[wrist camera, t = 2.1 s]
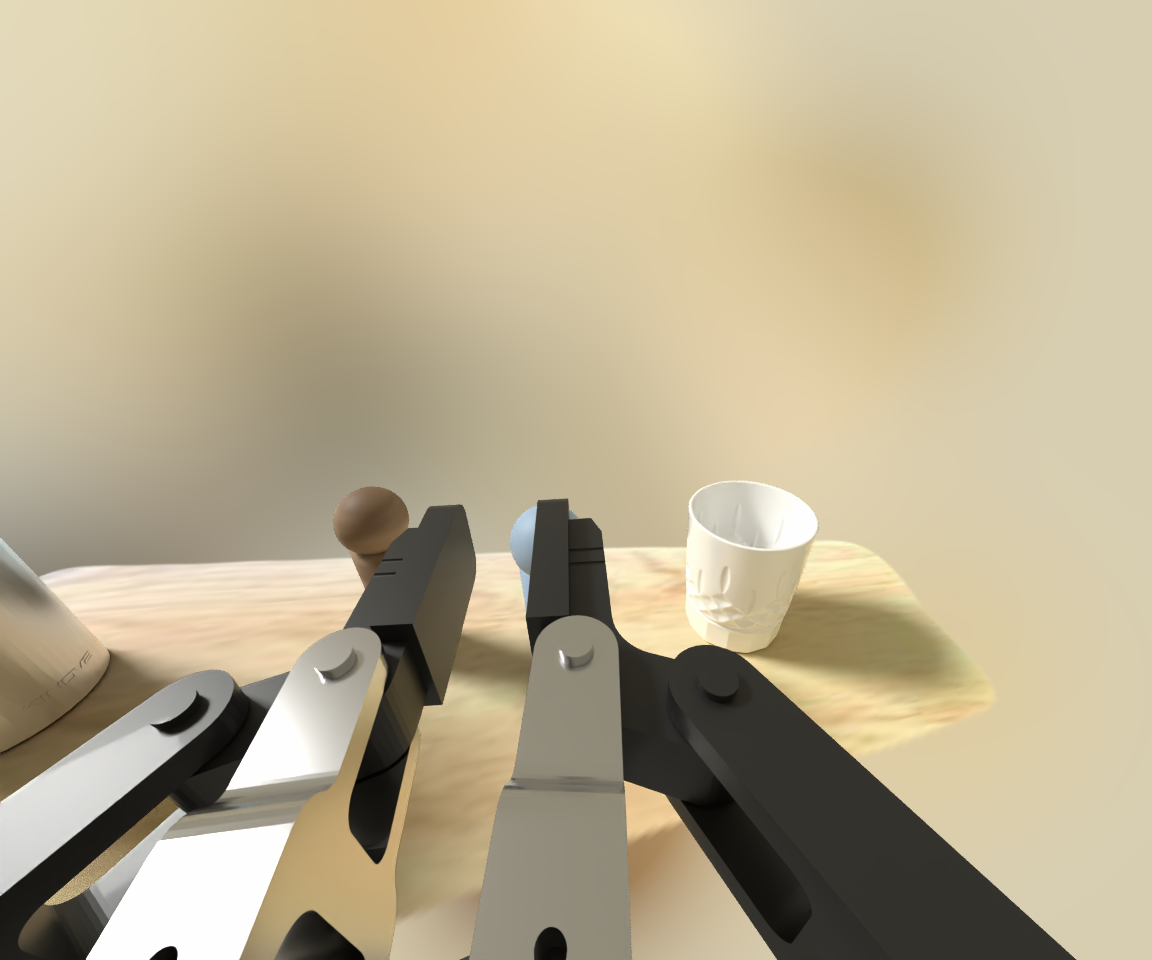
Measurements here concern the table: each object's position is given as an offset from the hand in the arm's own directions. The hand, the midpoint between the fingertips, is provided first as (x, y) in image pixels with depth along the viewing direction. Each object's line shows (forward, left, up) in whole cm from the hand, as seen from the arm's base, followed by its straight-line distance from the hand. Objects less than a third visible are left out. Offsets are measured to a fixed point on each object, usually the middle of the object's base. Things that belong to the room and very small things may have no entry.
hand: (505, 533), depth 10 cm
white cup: (+13, +14, -20) cm, 28 cm away
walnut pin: (-11, +13, -20) cm, 26 cm away
